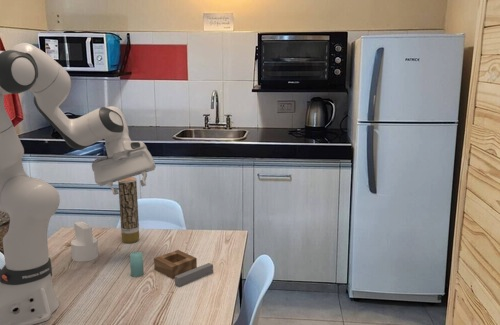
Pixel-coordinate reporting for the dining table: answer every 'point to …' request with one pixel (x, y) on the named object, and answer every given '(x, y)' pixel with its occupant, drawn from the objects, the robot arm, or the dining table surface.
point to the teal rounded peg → (136, 264)
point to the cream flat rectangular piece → (193, 274)
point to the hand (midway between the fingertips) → (129, 189)
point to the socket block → (174, 263)
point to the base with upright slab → (84, 243)
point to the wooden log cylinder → (129, 210)
